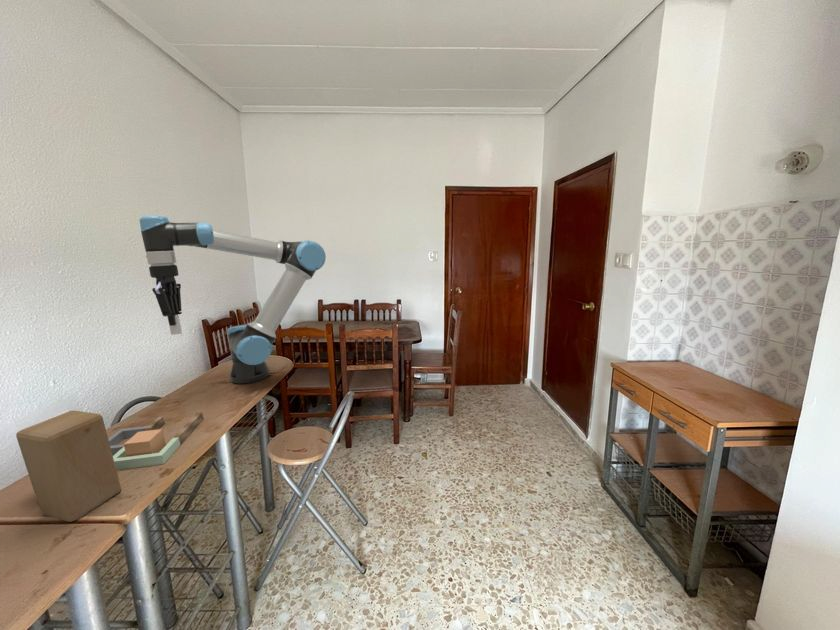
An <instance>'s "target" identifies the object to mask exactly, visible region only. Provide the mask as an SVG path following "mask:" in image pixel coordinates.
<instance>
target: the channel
mask: <svg viewBox="0 0 840 630" xmlns="http://www.w3.org/2000/svg"><path fill="white" fill-rule="evenodd" d="M203 420H204V414H203V412H202V411H201V412H199V411H198V412H195V414H194V415H193V416H192V417H191V419H190V420H188V422H186V423H185V425H184V426H183V427H182V428H180V430H179V431H178V432H177V433H176V434H175V435H174V436H173V437H172V438H177V437H179V441H180V446H181V445H182V444H183V443H184V442H185V441H186V439H187V438H188V437H189V436H190V435H191V434H192V433H193V432H194V431H195V429H196V428H197V427H198V426H199V425H200V423H201V422H203ZM165 424H166V423H165V418H164V416H158V417H156V418H155V419H154V420H153V421H152V422H150V423H149V424H148V425H146V426H147V427H146V428H145V431H150V430H158V429H161V428H162V427H163V426H164V425H165Z"/></svg>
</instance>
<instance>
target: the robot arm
mask: <svg viewBox="0 0 840 630" xmlns="http://www.w3.org/2000/svg"><path fill="white" fill-rule="evenodd" d="M139 226H140V233H141V237H142V242H143V247H144V250H145V252H146V253H145V254H146V255H145V257H146V259H147V264H148V265H149V267H148V271H149V275H150V278H152V279H153V278H154V279H155V285H156V287H153V288H152V292H153V294H154V295H155V297H156V301H157V303H158V306H159V309H160V312H161V314H162V316H163V317H167V321H168V326H169V332H170V335H171V336H173V335H174V336H175V335H181V334H183V332H182V326H181V320H180V315H181V314H182V313H183V312H182V297H181V286H182V285H181V283H177V280H176V278H175V277H177V276H179V270H178V269H179V268H178V265H177V259H176V253H175V249H174V247H179V246H182V247H183V246H188V247H195V248H201V249H206V250H207V249H209V250H213V251H220V252H226V253H231V254H237V255H243V256H248V257H249V256H250V257H254V258H255V257H256V258H261V259H267V260H271V261H272V260H273V261H275V262H276V263H277V264H281V265H285V270H284V272H283V273H282V275H281V277H280V278H279V280H278V281H277V283H276V285H275V287H274V288H273V290H272V291H271V293H270V295H269V296H268V298H267V299H266V301H265V303H264V304H263V306H262V308H261V309H260V311H259V313H258V315H256V318H255V319H254V321H252V322H248V323H247V324H240V325H235V326H230V327H228V328H227V337H228V342H229V351H230V355H231V361H232V363H231V371H230V374H229V378H230V382H231V381H232V382H234V383H233V384H235V383H247V384H251V383H250V382H252V383H256V382H259V381H261V380H265V379H266V378H267V376H268V375H269V376H270V374H269V373H270V368H269V366H268V365H267V363H266V361H267V360H268V359H269V358H270V356H271V355H272V345H273V343H274V342H275V340H276V339H277V335H276V331H277V329H278V327H279V326H280V324H281V323H282V320H283V319H284V317H285V316H286V314H287V312H288V311H289V310H290V308H291V306H292V304H293V302H294V301H295V299H296V298H297V296H298V294H299V293H300V290H302V289H301V288H302V287H303V285H304V284H305V282H306V281H307V280H311V279H312V278H313V276H314V275H315V274H316V272H317V271H318V270H320V269H321V268H322V267H323V266H324V265H325V262H326V258H327V257H326V252H325V248H323V247H322V246H321V245H320V244H319V242H318V243H317V242H316V241H312V240H304V241H303V240H302V241H285V240H279V241H272V240H267V239H261V238H257V237H252V236H248V235H247V236H246V235H241V234H238V233H232V232H227V231H222V230H218V229H213V227H212V225H211V224H210V223H208V222H200V221H199V222H170V220H169V218H168V217H167V216H164V215H144V216H141V217H139ZM269 376H268V377H269ZM255 381H256V382H255ZM232 382H231V383H232Z"/></svg>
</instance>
